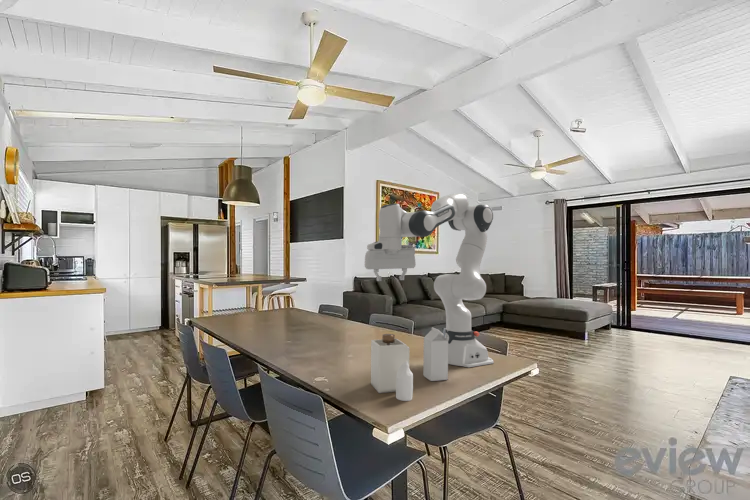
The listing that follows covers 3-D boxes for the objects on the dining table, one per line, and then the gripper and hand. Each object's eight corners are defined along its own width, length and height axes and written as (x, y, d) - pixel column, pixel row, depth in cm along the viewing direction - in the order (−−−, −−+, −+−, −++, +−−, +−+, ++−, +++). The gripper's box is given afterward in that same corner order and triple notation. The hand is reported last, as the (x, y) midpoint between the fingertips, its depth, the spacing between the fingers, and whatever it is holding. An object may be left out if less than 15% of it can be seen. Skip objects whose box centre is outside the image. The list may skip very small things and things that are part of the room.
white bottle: (392, 360, 126) (406, 358, 129) (392, 396, 126) (406, 393, 129) (402, 364, 121) (417, 362, 124) (402, 402, 121) (416, 399, 123)
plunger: (394, 374, 140) (395, 332, 140) (402, 381, 132) (402, 336, 132) (374, 375, 137) (374, 333, 138) (380, 383, 130) (381, 337, 130)
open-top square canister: (403, 380, 142) (403, 338, 142) (413, 389, 132) (414, 344, 132) (370, 383, 138) (371, 340, 138) (378, 393, 128) (379, 346, 129)
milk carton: (430, 381, 141) (431, 330, 141) (423, 375, 148) (423, 327, 148) (448, 380, 143) (448, 330, 143) (439, 374, 150) (440, 326, 150)
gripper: (411, 245, 153) (412, 279, 153) (363, 245, 147) (363, 280, 147) (418, 244, 147) (418, 280, 147) (367, 245, 141) (368, 282, 141)
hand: (390, 280), depth 147 cm, fingers open, 8 cm apart
